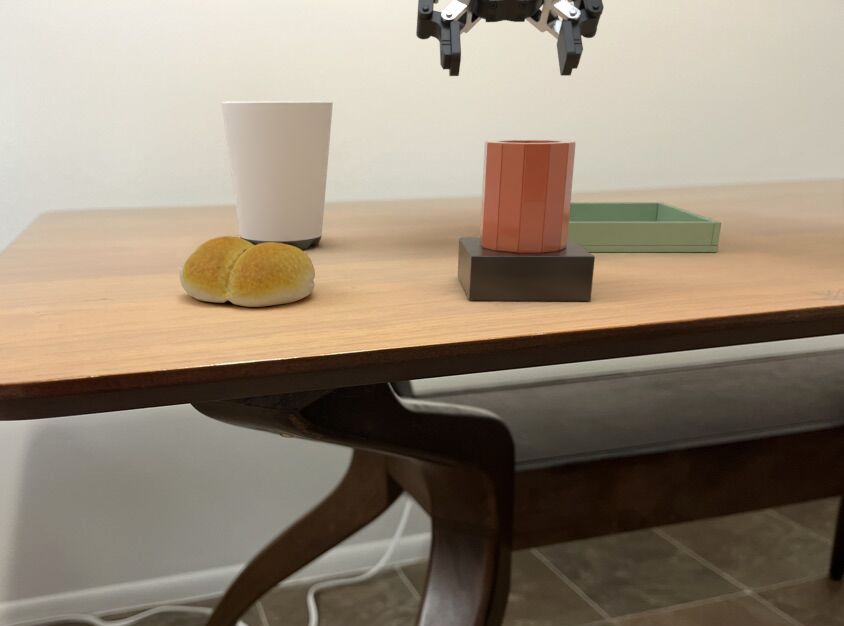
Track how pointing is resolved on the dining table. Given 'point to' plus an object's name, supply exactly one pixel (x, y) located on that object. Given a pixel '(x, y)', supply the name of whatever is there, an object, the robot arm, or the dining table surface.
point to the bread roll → (247, 273)
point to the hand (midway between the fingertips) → (512, 67)
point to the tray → (640, 228)
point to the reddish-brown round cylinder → (526, 195)
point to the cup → (279, 168)
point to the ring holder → (525, 273)
